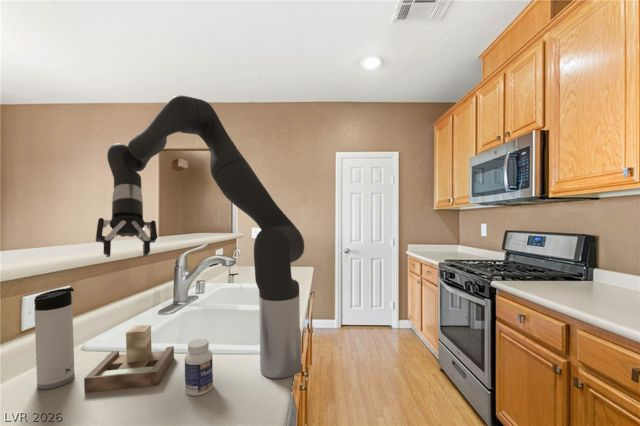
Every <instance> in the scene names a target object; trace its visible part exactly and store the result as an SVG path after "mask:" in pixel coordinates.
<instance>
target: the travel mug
mask: <svg viewBox="0 0 640 426" xmlns="http://www.w3.org/2000/svg"><path fill="white" fill-rule="evenodd" d="M72 292H75V290H74V288H73V287H72V286H71V287H67V288H61V289H60V288H59V289H54V290H50V291H46V292H43V293H40V294H39V295H36V296H34V297H35V298H34V302H33V303H34V331H35V334H34V335H35V340H34V341H35V361H36V362H35V363H36V364H35V365H36V366H35V367H36V385H37V386H36V387H37V389H39V390H52V389H55V388H60V387H62V386H64V385H66V384H68V383H70V382H72V380H73V379H74V378H75V376H76V375H75V353H74V352H75V350H74V349H75V346H74V320H73V319H74V316H73V301H72V299H73V297H72Z"/></svg>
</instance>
